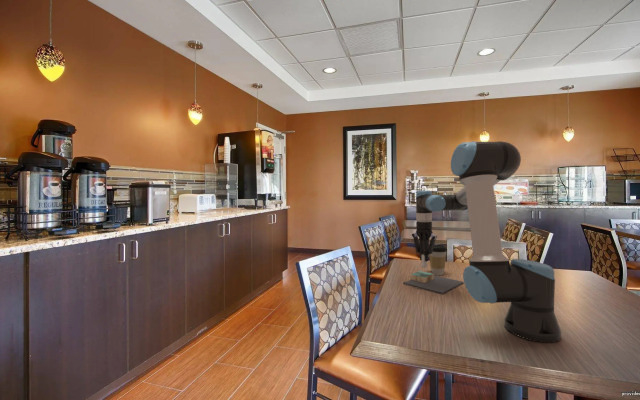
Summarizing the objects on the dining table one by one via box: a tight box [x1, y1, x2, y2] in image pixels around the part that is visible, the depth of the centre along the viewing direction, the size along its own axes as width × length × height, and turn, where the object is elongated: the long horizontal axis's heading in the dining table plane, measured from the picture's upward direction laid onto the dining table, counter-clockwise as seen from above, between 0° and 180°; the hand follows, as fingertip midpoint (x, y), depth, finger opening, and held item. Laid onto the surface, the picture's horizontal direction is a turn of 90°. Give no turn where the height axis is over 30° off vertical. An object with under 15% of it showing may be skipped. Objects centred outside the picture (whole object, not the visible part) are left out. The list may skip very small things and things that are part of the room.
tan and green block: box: [409, 270, 434, 283], centre depth 153 cm, size 9×3×8 cm
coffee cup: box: [428, 244, 448, 276], centre depth 165 cm, size 10×10×15 cm
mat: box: [403, 275, 464, 295], centre depth 148 cm, size 22×20×1 cm
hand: (424, 267), depth 151 cm, fingers closed
